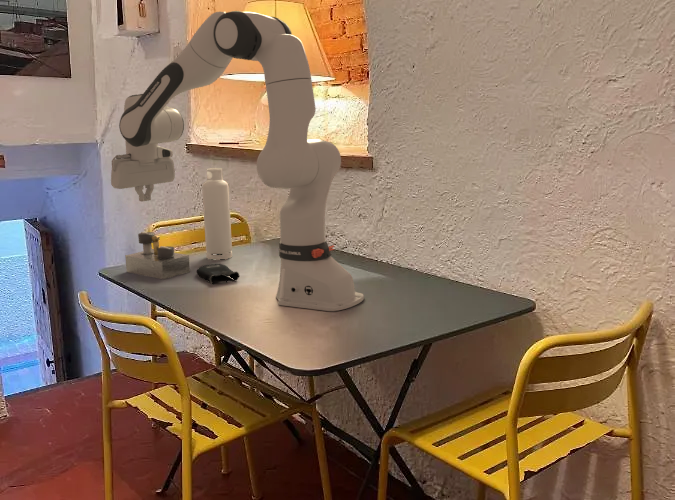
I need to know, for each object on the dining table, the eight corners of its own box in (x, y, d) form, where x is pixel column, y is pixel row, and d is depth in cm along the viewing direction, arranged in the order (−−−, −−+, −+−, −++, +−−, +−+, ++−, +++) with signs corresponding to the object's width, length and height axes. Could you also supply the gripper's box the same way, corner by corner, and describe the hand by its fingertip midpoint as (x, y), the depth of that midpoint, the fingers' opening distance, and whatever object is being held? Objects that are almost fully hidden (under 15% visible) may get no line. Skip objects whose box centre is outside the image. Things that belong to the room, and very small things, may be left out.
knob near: (178, 271, 200) (177, 246, 198) (166, 274, 196) (164, 249, 195) (168, 269, 202) (166, 244, 201) (155, 272, 199) (153, 247, 197)
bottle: (201, 257, 219) (195, 169, 213) (223, 253, 224) (218, 166, 218) (215, 261, 213) (210, 170, 207) (237, 257, 219) (232, 168, 212)
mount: (190, 271, 201) (188, 255, 200) (163, 279, 193) (161, 262, 192) (153, 265, 210) (152, 249, 209) (126, 272, 202) (125, 255, 201)
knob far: (159, 256, 204) (157, 232, 202) (147, 259, 200) (145, 234, 198) (149, 254, 206) (147, 230, 205) (136, 257, 203) (134, 233, 201)
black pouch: (243, 286, 192) (223, 267, 204) (240, 268, 189) (220, 250, 201) (211, 295, 188) (193, 276, 200) (208, 277, 185) (190, 258, 197)
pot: (162, 254, 201) (161, 236, 200) (156, 255, 199) (155, 237, 198) (157, 253, 202) (155, 235, 201) (151, 254, 200) (149, 236, 199)
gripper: (118, 156, 186) (122, 206, 189) (177, 150, 202) (179, 197, 205) (104, 154, 189) (107, 204, 192) (162, 149, 205) (164, 195, 209)
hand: (145, 200), depth 199 cm, fingers closed
